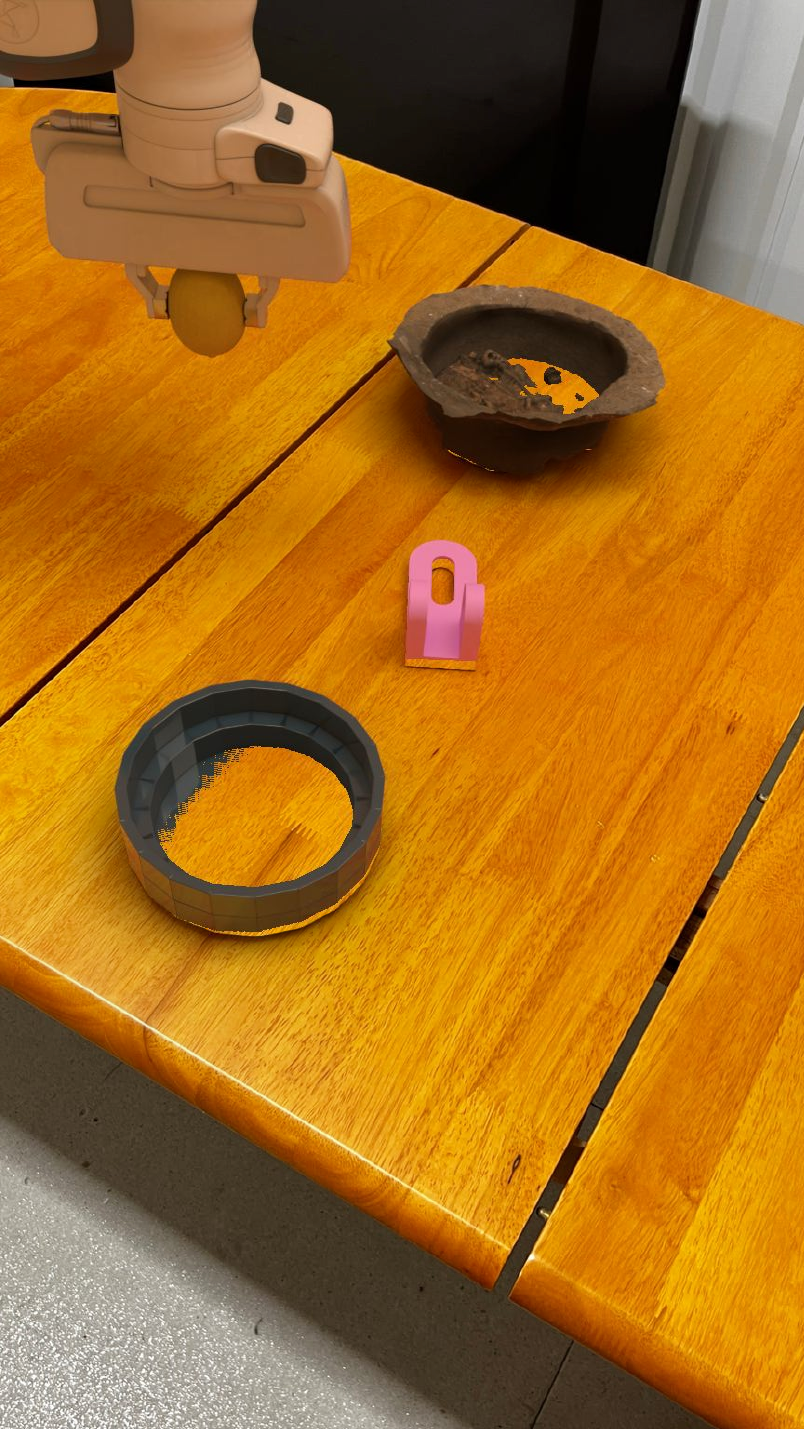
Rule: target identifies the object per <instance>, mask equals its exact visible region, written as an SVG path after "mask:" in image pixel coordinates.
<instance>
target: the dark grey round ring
mask: <svg viewBox="0 0 804 1429" xmlns="http://www.w3.org/2000/svg"><path fill="white" fill-rule="evenodd" d="M250 746H257V747H258V746H261V747H273V748H277V747H279V748H285V749H289V750H291V751H295V752H298V753H301V754H305V755H306V756H310V757H311V758H313V759H314V760H315V761H317V762H319V763H321V764H322V765H323V766H324V767H326V768H328V769H329V770H331V771H332V772H333V773H334V774H335V775H336V777H337V778H338V780H339V781H340V783H341V784H342V785H343V786H344V788H346V790H347V792H348V795H349V798H350V802H351V805H352V809H353V820H352V827H351V829H350V831H349V833H348V834H347V836H346V838H345V840H344V842H343V844H342V846H341V848H340V850H339V851H338V852H337V853H336V854H335V855H334V856H333V857H332V858H331V859H330V860H329V861H328V862H327V863H326V864H324V865H323V866H321V867H319V868H317V869H315V870H313V871H311V872H309V873H307V874H305V875H303V876H301V877H299V878H297V879H295V880H291V881H285V882H280V883H275V884H270V885H264V886H259V887H246V886H234V885H222V884H212V883H210V882H207V881H204V880H202V879H199V878H196V877H194V876H191V875H189V874H188V873H186V872H185V871H184V870H183V869H181V868H180V867H179V866H177V865H176V864H175V863H174V862H172V861H171V860H170V859H169V858H168V856H167V854H166V853H165V851H164V850H163V848H162V846H163V845H162V846H161V845H160V842H165V841H169V840H164V841H161V839H159V838H161V837H159V836H161V835H164V834H161V833H164V832H161V831H164V830H165V832H171V831H174V830H171V829H175V828H176V823H175V822H176V819H175V817H174V816H175V814H176V815H182V814H186V813H182V812H186V811H182V810H186V809H182V808H185V807H182V806H185V805H182V804H185V803H188V801H192V800H195V799H192V800H188V799H191V798H195V797H191V796H195V795H193V794H195V792H198V791H200V790H199V789H201V788H202V787H205V788H210V787H206V786H210V785H206V784H210V783H206V782H214V781H210V780H214V779H207V780H208V781H206V780H202V779H206V778H202V777H206V776H202V775H207V776H208V777H207V778H210V777H209V776H214V774H216V775H221V774H217V773H221V772H217V771H222V770H218V769H222V768H218V767H214V766H218V765H214V764H218V763H214V762H221V763H227V761H230V760H227V759H230V758H227V757H231V756H228V755H231V754H228V753H236V752H231V751H236V750H232V749H237V748H238V749H241V748H249V747H250ZM250 748H254V747H250ZM225 750H226V751H225ZM228 750H230V751H228ZM241 750H244V749H241ZM224 752H228V753H224ZM239 752H244V751H240V750H239ZM224 754H227V755H224ZM237 754H240V753H237ZM241 754H243V753H241ZM215 755H216V756H215ZM232 755H235V754H232ZM247 755H248V754H247ZM223 756H225V757H223ZM235 756H239V755H235ZM235 756H234V758H239V757H235ZM242 756H243V755H242ZM215 757H216V758H215ZM219 758H220V759H219ZM223 758H224V759H223ZM232 760H235V759H232ZM236 760H239V759H236ZM204 762H205V763H204ZM231 762H234V761H231ZM236 762H239V761H236ZM211 763H212V764H211ZM203 764H204V765H203ZM220 765H222V764H220ZM223 765H226V764H223ZM228 766H229V765H228ZM219 767H222V766H219ZM223 767H224V766H223ZM214 768H218V769H214ZM227 768H229V767H227ZM214 770H217V771H214ZM214 772H216V773H214ZM225 772H226V771H225ZM225 774H226V773H225ZM199 776H200V777H199ZM216 777H217V776H216ZM211 778H214V777H211ZM202 781H206V782H202ZM202 783H206V784H202ZM202 785H206V786H202ZM213 787H214V786H213ZM195 788H198V789H195ZM385 789H386V773H385V770H384V767H383V763H382V760H381V756H380V753H379V750H378V746H377V744H376V742H375V741H374V740H373V739H372V737H371V736H370V735H369V733H368V732H367V730H366V729H365V728H364V727H363V725H362V724H361V723H360V721H359V720H358V718H357V717H356V716H355V715H353V713H350V712H349V711H348V710H346V709H345V708H343V707H342V706H340V705H339V704H337V703H336V702H335V701H333V700H332V699H331V698H329V697H327V696H325V695H324V694H321V693H319V692H315V691H313V690H310V689H307V688H304V687H301V686H299V685H296V684H292V683H290V682H283V681H271V680H261V679H241V680H236V681H228V682H221V683H215V684H210V685H207V686H205V687H202V688H200V689H198V690H196V691H193V692H191V693H188V694H186V695H183V696H181V697H178V698H176V699H174V700H172V701H171V702H170V703H168V704H167V705H166V706H164V707H163V708H162V709H160V710H159V711H158V712H157V713H155V714H154V715H153V716H151V717H150V718H149V719H147V720H146V721H145V722H144V723H143V724H142V725H141V726H140V728H139V729H138V731H137V732H136V734H135V736H133V738H132V740H131V741H130V742H129V744H128V745H127V746H126V749H125V750H124V752H122V756H121V760H120V764H119V768H118V772H117V776H116V780H115V782H114V790H113V791H114V795H115V796H114V797H115V802H116V809H117V816H118V822H119V823H118V824H119V826H120V831H121V835H122V838H123V842H124V848H125V850H126V854H127V858H128V864H129V866H130V867H131V869H132V871H133V872H134V874H135V876H136V878H137V879H138V881H139V882H140V884H141V886H142V888H143V890H144V891H145V893H146V895H148V897H149V898H151V899H152V898H153V899H154V900H153V899H152V900H153V901H154V902H156V901H157V902H158V903H159V904H158V903H157V902H156V903H157V904H158V905H159V906H161V905H162V906H163V907H164V908H165V909H164V908H163V907H162V906H161V907H162V908H163V909H164V910H166V909H167V910H168V911H169V912H171V913H172V914H173V915H175V916H176V917H178V918H179V919H182V920H186V921H187V922H192V923H194V924H197V925H200V926H202V927H205V928H209V929H211V930H214V931H215V930H216V931H222V932H224V931H233V932H237V931H239V932H244V931H245V932H262V931H263V930H267V929H269V930H270V929H272V928H276V927H280V926H284V925H290V924H293V923H297V922H298V923H299V922H302V921H304V920H306V919H308V918H309V917H311V916H313V915H315V914H316V913H318V912H321V911H323V910H325V909H328V908H329V907H331V906H333V905H335V904H336V903H338V901H339V900H340V899H342V897H343V896H345V895H346V894H347V893H348V892H349V891H350V889H352V888H353V887H354V886H355V885H356V884H357V883H358V882H359V881H360V880H361V879H362V878H363V877H364V875H365V874H366V872H367V870H368V868H369V866H370V864H371V862H372V860H373V858H374V856H375V854H376V852H377V850H378V848H379V846H380V847H381V841H382V830H383V819H384V818H383V817H384V804H385V803H384V802H385ZM195 790H198V791H195ZM205 790H206V789H205ZM198 793H199V792H198ZM198 795H199V794H198ZM188 797H191V798H188ZM198 797H199V796H198ZM198 799H199V798H198ZM182 802H185V803H182ZM192 802H195V801H192ZM178 803H179V804H178ZM178 805H180V806H178ZM186 805H188V804H186ZM178 807H180V808H178ZM186 807H188V806H186ZM178 809H181V810H178ZM187 809H188V808H187ZM178 811H181V812H178ZM187 812H188V810H187ZM179 813H182V814H179ZM169 815H170V816H169ZM169 817H171V818H169ZM176 817H179V816H176ZM382 818H383V819H382ZM177 819H179V818H177ZM178 821H179V820H178ZM166 822H167V823H166ZM166 824H167V825H166ZM174 827H175V828H174ZM167 828H168V829H167ZM161 829H164V830H161ZM381 829H382V830H381ZM158 830H159V831H158ZM167 830H170V831H167ZM158 832H160V833H158ZM171 833H174V832H171ZM171 833H170V834H171ZM158 834H161V835H158ZM166 834H168V833H166ZM173 835H174V834H173ZM168 836H171V835H167V836H165V837H168ZM162 837H164V836H162ZM168 838H172V837H168ZM163 839H165V838H163ZM170 840H172V839H170ZM380 840H381V841H380ZM171 842H172V841H171ZM161 844H162V843H161ZM165 850H167V849H165ZM166 852H167V851H166ZM167 910H166V911H167ZM168 911H167V912H168ZM169 912H168V913H169ZM171 913H170V914H171ZM172 914H171V915H172ZM173 915H172V916H173ZM176 917H175V918H176ZM179 919H178V920H179ZM187 922H186V923H187Z"/></svg>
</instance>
